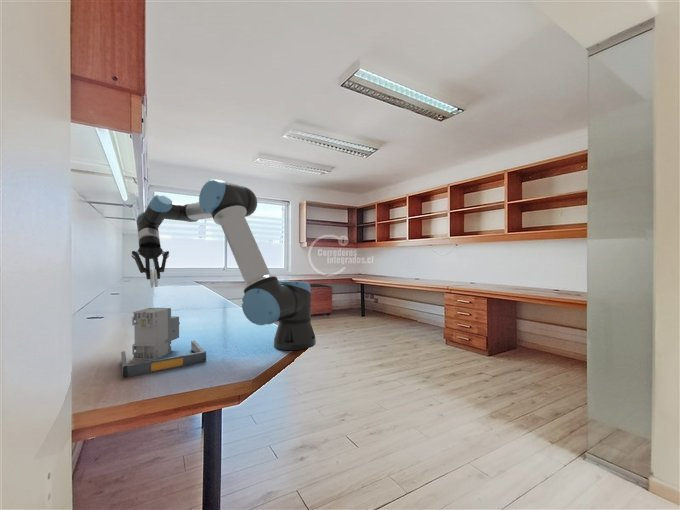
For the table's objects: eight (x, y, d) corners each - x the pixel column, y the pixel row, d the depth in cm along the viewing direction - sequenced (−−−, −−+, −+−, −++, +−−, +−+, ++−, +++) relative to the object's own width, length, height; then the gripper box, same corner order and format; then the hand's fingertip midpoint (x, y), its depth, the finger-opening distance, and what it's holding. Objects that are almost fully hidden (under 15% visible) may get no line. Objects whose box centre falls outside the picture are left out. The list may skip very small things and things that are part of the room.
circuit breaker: (182, 346, 112) (181, 305, 112) (154, 360, 97) (154, 312, 97) (162, 346, 112) (162, 304, 112) (132, 359, 98) (132, 312, 98)
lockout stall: (206, 361, 95) (206, 352, 95) (123, 378, 83) (122, 367, 83) (194, 348, 109) (194, 340, 109) (121, 361, 96) (121, 351, 96)
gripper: (167, 248, 134) (173, 290, 121) (129, 247, 126) (131, 292, 113) (169, 235, 130) (176, 277, 116) (129, 234, 122) (132, 279, 108)
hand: (154, 284), depth 114 cm, fingers closed
